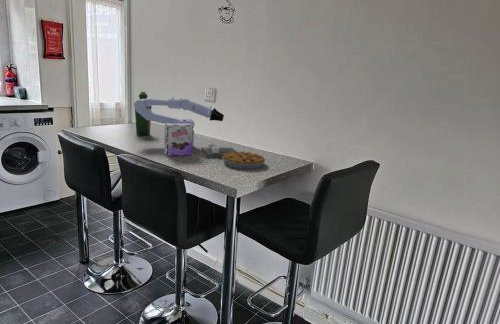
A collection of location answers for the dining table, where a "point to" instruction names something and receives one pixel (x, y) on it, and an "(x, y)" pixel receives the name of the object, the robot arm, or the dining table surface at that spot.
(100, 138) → the dining table surface
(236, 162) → the pie
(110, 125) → the dining table surface
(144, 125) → the bottle
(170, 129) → the candy box
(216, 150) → the slider front
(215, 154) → the control box
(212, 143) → the slider back
